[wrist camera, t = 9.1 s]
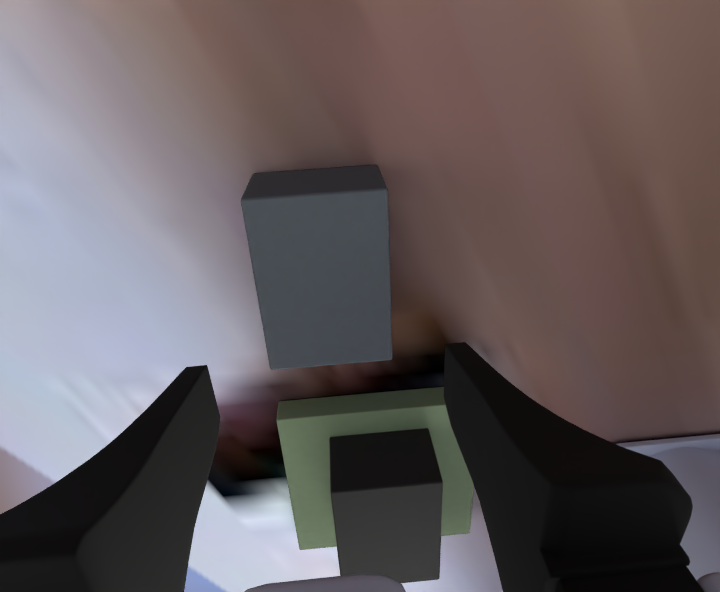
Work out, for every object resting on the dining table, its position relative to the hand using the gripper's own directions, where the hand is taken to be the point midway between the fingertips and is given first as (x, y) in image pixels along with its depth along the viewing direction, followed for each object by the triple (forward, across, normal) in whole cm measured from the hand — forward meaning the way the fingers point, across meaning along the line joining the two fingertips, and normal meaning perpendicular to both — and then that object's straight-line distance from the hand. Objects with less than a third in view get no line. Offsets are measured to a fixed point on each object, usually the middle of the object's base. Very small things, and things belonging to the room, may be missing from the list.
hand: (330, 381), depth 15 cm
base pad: (+8, -2, +12) cm, 15 cm away
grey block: (+8, 0, -1) cm, 8 cm away
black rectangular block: (+6, -2, +12) cm, 14 cm away
